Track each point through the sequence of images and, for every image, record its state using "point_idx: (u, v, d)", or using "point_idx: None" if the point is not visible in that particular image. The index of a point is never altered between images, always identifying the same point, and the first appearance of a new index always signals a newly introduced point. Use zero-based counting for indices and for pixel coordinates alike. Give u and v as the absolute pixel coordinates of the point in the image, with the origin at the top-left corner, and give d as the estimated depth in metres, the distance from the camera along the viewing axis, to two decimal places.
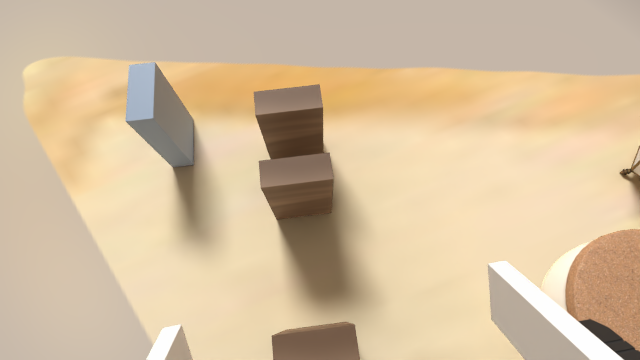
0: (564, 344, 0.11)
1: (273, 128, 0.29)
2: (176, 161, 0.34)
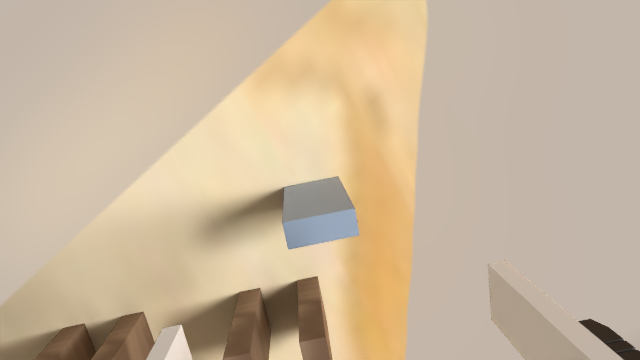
0: (564, 344, 0.11)
1: None
2: None
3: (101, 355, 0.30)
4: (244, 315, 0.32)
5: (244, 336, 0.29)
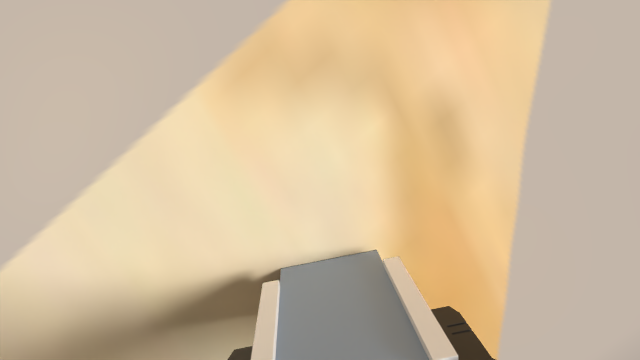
0: (413, 326, 0.13)
1: None
2: None
3: None
4: None
5: None
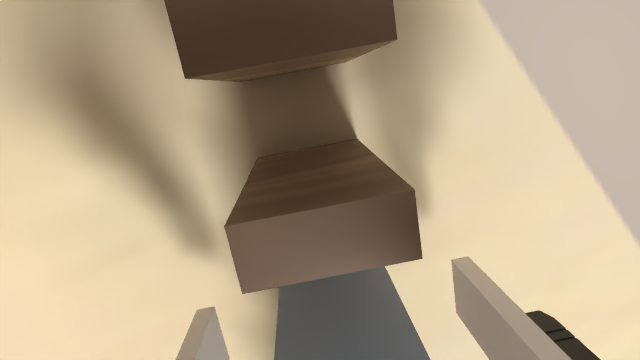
0: (509, 333, 0.12)
1: None
2: None
3: None
4: None
5: None
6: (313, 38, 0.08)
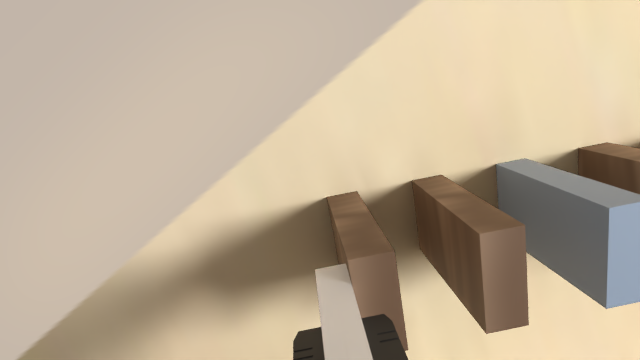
0: None
1: None
2: None
3: (460, 205, 0.19)
4: None
5: None
6: (392, 292, 0.16)
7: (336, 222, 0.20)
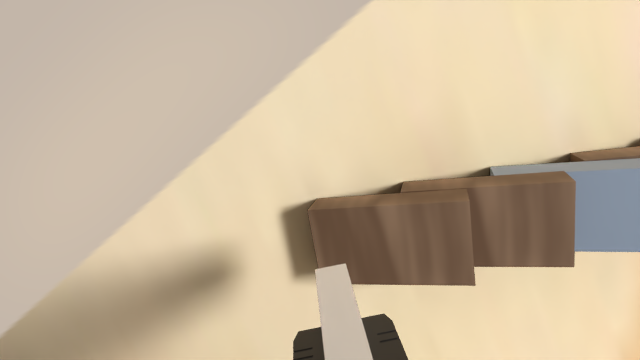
0: None
1: None
2: None
3: (501, 181, 0.21)
4: None
5: None
6: None
7: (384, 205, 0.21)
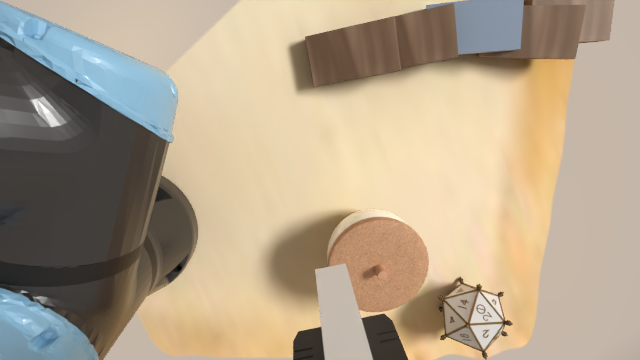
0: None
1: (593, 1, 0.39)
2: None
3: None
4: None
5: None
6: (397, 38, 0.37)
7: None
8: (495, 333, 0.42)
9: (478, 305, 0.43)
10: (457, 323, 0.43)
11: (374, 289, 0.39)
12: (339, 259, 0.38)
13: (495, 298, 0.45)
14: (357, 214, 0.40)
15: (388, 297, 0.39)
